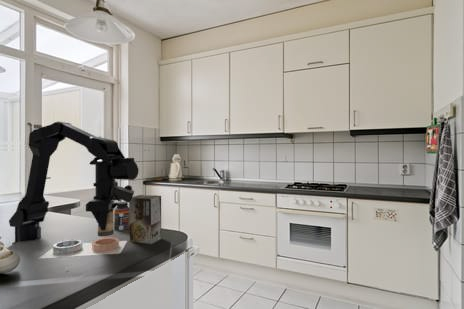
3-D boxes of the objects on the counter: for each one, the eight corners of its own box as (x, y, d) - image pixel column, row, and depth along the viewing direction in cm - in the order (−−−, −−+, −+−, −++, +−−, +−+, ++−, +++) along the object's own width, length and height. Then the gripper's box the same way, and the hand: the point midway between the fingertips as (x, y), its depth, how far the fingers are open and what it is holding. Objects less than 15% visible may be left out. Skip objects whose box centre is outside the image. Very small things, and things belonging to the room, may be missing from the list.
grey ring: (48, 255, 80) (48, 248, 80) (59, 246, 88) (59, 240, 88) (76, 253, 82) (76, 246, 82) (85, 245, 89) (85, 239, 89)
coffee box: (162, 241, 97) (162, 195, 96) (151, 247, 90) (151, 198, 90) (140, 238, 100) (140, 194, 99) (128, 244, 93) (128, 196, 93)
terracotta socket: (89, 252, 83) (89, 246, 82) (96, 244, 90) (96, 238, 90) (115, 251, 84) (115, 244, 84) (121, 243, 91) (120, 237, 91)
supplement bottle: (124, 233, 106) (124, 204, 106) (111, 232, 107) (110, 203, 107) (133, 229, 112) (133, 201, 112) (120, 228, 113) (120, 200, 113)
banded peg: (95, 236, 84) (95, 214, 84) (100, 232, 89) (100, 211, 89) (111, 236, 85) (111, 213, 85) (115, 231, 90) (115, 210, 90)
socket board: (38, 262, 78) (38, 258, 78) (56, 247, 90) (56, 244, 90) (120, 256, 82) (120, 253, 82) (127, 243, 94) (127, 240, 94)
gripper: (126, 181, 79) (126, 235, 79) (136, 176, 98) (136, 219, 98) (84, 182, 77) (85, 237, 77) (103, 176, 95) (103, 221, 96)
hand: (105, 228), depth 87 cm, fingers closed on banded peg, 4 cm apart
